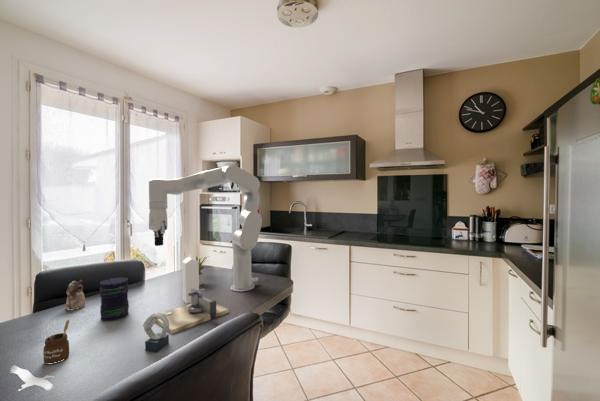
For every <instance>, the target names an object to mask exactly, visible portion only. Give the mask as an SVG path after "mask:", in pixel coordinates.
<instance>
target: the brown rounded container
mask: <svg viewBox="0 0 600 401" xmlns="http://www.w3.org/2000/svg"><path fill="white" fill-rule="evenodd" d="M69 323H70V318H69V319H67V320H66V321H65V325H64V328H63V332H60V333H56V328H55V326H53V325H50V328H52V329H51V331H49V329H48V327H49V324H47V325H45V326H44V329H43V331H44V334H45V337H46V338H45V339H44V344H45V345H44V346H43V350H42V351H43V353H42V354H43V363H44V364H45V363H54V362H58V361H61V360H63V359H65V358H66V357H69V355H70V342H69V339H68V334H67V333H66V332H67V330H68V327H69ZM45 329H46V330H48V331H46V330H45ZM50 332H51V334H50ZM48 335H49V336H48ZM65 360H66V359H65Z"/></svg>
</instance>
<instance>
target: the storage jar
mask: <svg viewBox="0 0 600 401" xmlns="http://www.w3.org/2000/svg"><path fill="white" fill-rule="evenodd" d="M128 281H129V278H128V277H126V276H125V277H124V276H117V277H111V278H106V279H103V280H101V281H100V282H99V296H100V304H101V305H100V309H99V310H100V311H99V313H100V320H101V321H102V322H114V321H118V320H121V319H124V318H126V317H127V316H128V315H129V306H130V305H129V300H128V299H129V298H128V297H129V296H128V293H129V282H128Z"/></svg>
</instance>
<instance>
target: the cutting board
mask: <svg viewBox="0 0 600 401" xmlns="http://www.w3.org/2000/svg"><path fill="white" fill-rule="evenodd" d="M190 305H191V303H189V304H185V305H183V306H179V307H176V308H172V309H169V310H165V311H162V312H161V313H162V314H164V315H165V316H166V317H167V319H168V321H169V329H168V331H167V333H170V334H171V335H173V334H176V333H178V332H181V331H184V330H186V329H189V328H191V327H195V326H197V325H199V324H202V323H205V322H208V321H211V319H210V315H209V314H207V313H206V312H201V313H190V312H188V307H189V306H190ZM228 313H229V308H226V307H225V306H223V305H220V304H218V303H216V316H217V317H216V318H219V317H220V316H223V315H226V314H228ZM163 322H164V321H163ZM163 322H162V321H161V320H160V319H159V318H158V319H157V321H156V322H155V324H157V325H159V326H160V327H162V328H163V327H164V324H163Z"/></svg>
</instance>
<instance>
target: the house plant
mask: <svg viewBox="0 0 600 401" xmlns="http://www.w3.org/2000/svg"><path fill="white" fill-rule="evenodd" d="M208 257H210V256H208V255H207V256H204V257H203V256H202V257H201V258H199V257H198V255H196V257H195V260H197V261H198V262H199V286H201V285H202V284H203V278H204V271H202V270H203V269H206V264H205V265H204V263H205V262H206V260H207V258H208ZM201 260H202V261H201Z"/></svg>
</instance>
